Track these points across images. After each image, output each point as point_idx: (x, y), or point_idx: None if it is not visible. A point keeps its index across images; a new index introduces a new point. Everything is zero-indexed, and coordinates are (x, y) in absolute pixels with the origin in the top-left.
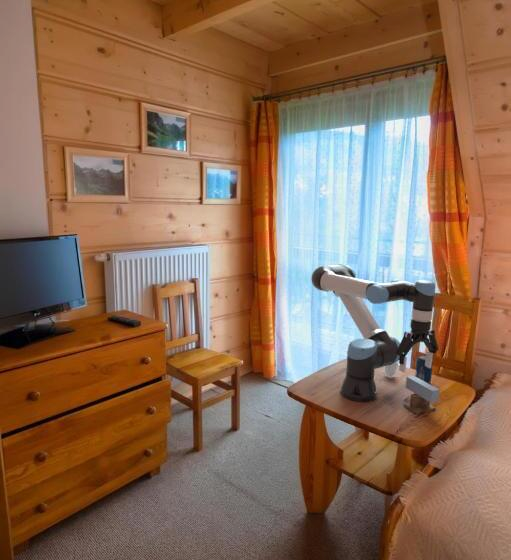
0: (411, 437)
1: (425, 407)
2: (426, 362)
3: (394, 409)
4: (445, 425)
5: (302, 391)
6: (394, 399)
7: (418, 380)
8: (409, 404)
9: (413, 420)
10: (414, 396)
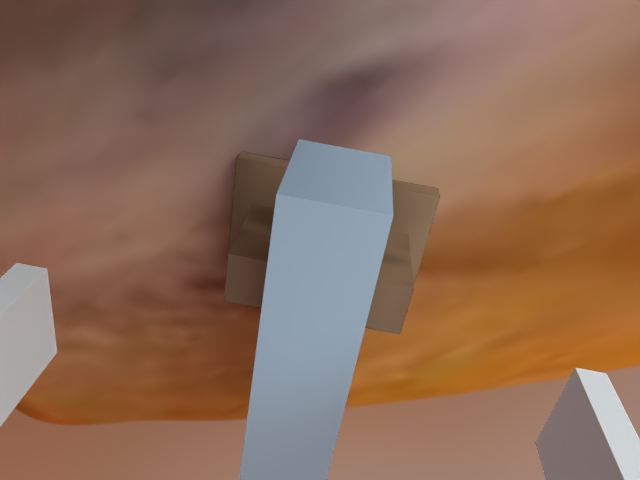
0: None
1: None
2: (589, 446)
3: (134, 148)
4: None
5: None
6: (263, 26)
7: (313, 328)
8: (271, 188)
9: (153, 300)
10: (226, 290)
